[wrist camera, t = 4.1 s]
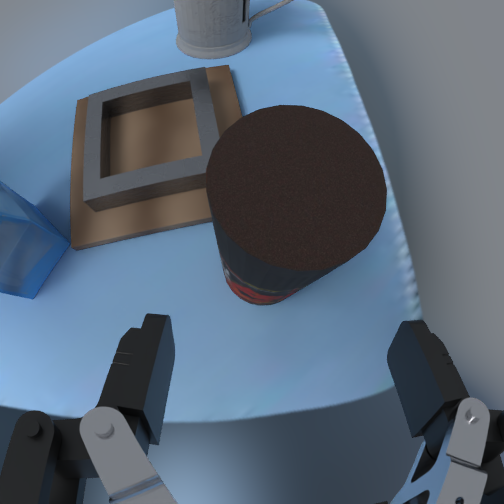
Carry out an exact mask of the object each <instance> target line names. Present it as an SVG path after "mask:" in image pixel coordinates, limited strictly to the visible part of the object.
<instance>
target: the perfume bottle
mask: <svg viewBox="0 0 504 504" xmlns="http://www.w3.org/2000/svg"><path fill="white" fill-rule="evenodd" d="M69 245H70V243H69V242H68V241H67V240H66V239H65V238H64V237H63V236H62V235H61V234H60V232H59V231H58V230H57V229H56V228H55V227H54V226H53V225H52V224H51V223H50V222H49V221H48V220H47V219H46V218H45V217H44V216H43V214H42V213H41V212H40V211H39V210H38V209H37V208H36V207H35V206H34V205H33V204H31V203H30V202H28V201H27V200H25V199H24V198H23V197H21V196H20V195H18V194H17V193H16V192H14V191H13V190H11V189H10V188H9V187H7V186H6V185H5V184H3V183H2V182H1V181H0V292H1V293H5V294H10V295H15V296H20V297H24V298H29V299H34V297H35V295H36V294H37V292H38V291H39V289H40V287H41V286H42V284H43V283H44V281H45V280H46V278H47V277H48V275H49V274H50V272H51V271H52V269H53V268H54V266H55V265H56V263H57V262H58V261H59V259H60V258H61V256H62V255H63V253H64V252H65V251H66V249H67V248H68V247H69Z"/></svg>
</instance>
